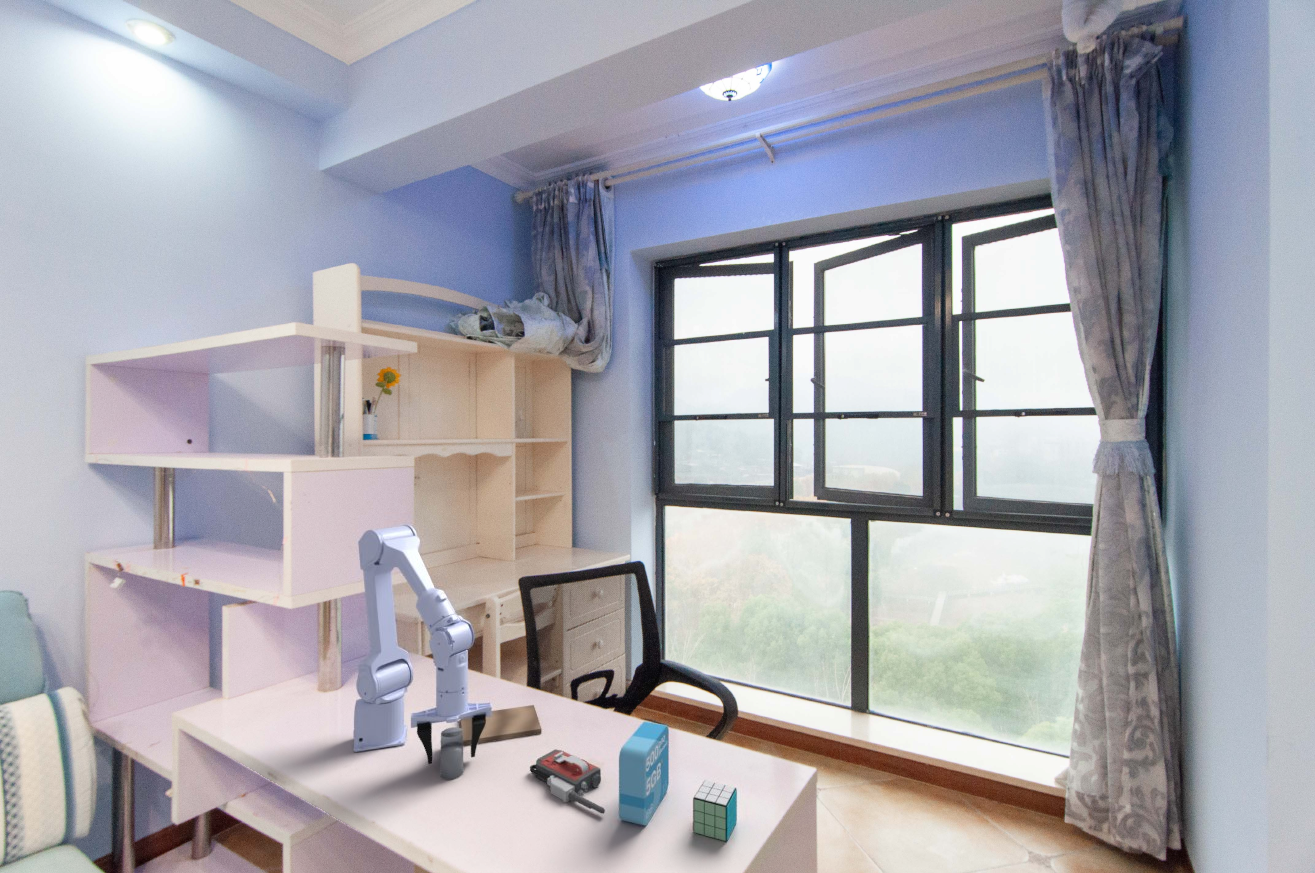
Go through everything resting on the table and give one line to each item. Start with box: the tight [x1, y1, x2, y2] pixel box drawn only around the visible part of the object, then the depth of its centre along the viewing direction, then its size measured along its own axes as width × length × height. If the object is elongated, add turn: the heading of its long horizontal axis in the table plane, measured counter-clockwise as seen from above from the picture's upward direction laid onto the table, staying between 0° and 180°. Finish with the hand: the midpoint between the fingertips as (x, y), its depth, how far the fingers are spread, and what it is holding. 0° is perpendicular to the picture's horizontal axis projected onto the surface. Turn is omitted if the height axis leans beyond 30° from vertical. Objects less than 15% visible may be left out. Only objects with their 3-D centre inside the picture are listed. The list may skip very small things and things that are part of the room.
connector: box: [440, 726, 464, 781], centre depth 116 cm, size 4×13×5 cm, turn 19°
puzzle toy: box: [692, 779, 738, 842], centre depth 97 cm, size 6×6×6 cm
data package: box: [618, 721, 670, 826], centre depth 103 cm, size 12×4×12 cm, turn 160°
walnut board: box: [460, 704, 542, 747], centre depth 131 cm, size 16×12×1 cm
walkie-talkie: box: [529, 749, 606, 814], centre depth 108 cm, size 9×4×20 cm
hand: (451, 757), depth 115 cm, fingers open, 7 cm apart
